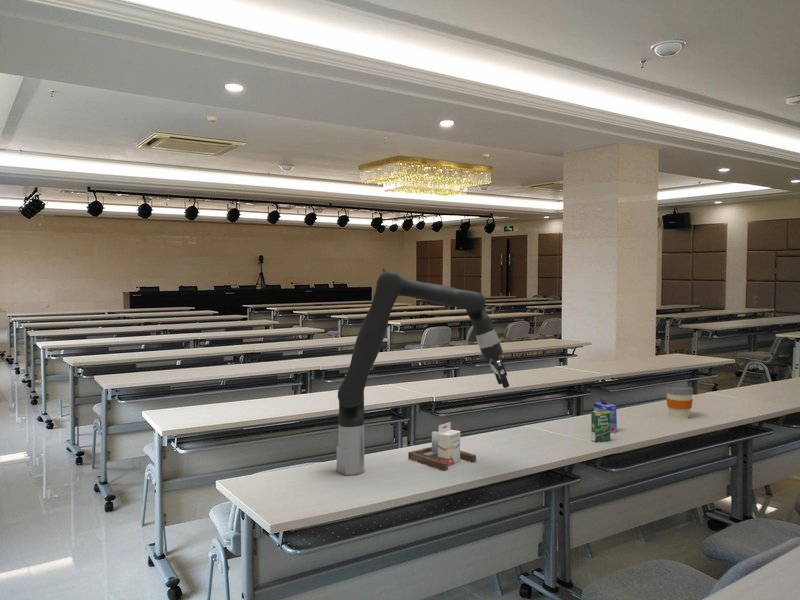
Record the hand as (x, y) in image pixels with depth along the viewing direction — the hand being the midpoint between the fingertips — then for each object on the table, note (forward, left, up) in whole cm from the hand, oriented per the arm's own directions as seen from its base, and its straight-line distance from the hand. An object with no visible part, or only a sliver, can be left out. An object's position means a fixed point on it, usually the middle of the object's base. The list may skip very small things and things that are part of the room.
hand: (504, 385), depth 220 cm
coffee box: (+60, -2, -31) cm, 68 cm away
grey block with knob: (-10, +26, -31) cm, 41 cm away
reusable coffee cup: (+129, -3, -31) cm, 133 cm away
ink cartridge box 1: (-10, +19, -31) cm, 38 cm away
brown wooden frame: (-10, +23, -31) cm, 39 cm away
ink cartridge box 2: (+78, +7, -31) cm, 84 cm away
